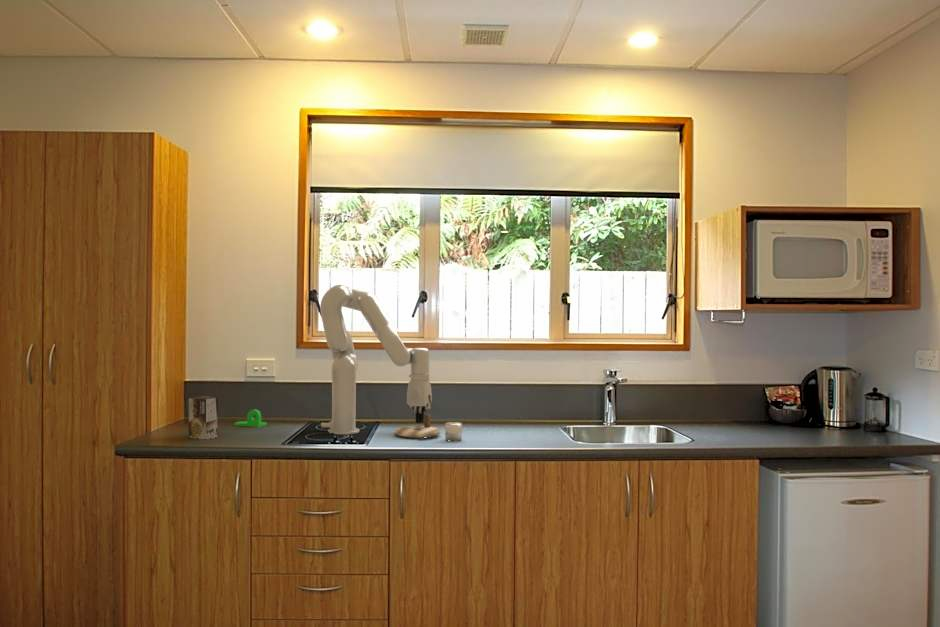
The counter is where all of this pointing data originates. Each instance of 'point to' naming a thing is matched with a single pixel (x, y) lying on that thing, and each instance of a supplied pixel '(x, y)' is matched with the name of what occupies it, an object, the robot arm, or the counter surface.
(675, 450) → the counter surface
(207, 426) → the coffee box
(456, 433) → the silver rounded piece
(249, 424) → the mechanical part
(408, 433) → the turntable
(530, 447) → the counter surface
